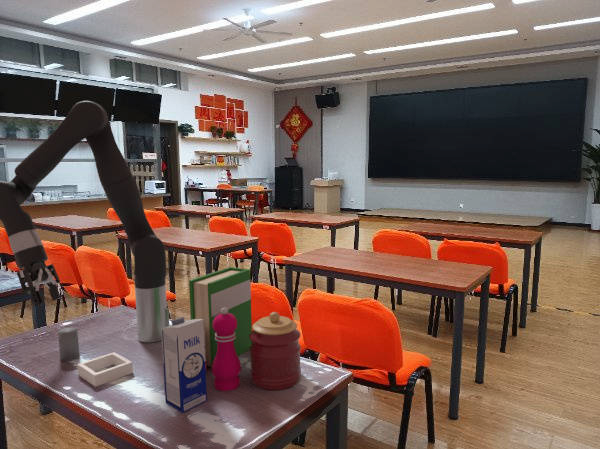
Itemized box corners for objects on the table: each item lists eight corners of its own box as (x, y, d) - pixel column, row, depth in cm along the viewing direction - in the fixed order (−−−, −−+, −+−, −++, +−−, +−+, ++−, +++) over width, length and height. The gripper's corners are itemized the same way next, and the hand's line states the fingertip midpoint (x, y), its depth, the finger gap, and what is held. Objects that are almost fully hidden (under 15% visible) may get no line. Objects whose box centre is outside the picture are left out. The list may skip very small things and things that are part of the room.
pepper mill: (236, 393, 109) (233, 313, 106) (207, 390, 110) (204, 311, 108) (245, 379, 116) (243, 303, 113) (218, 377, 117) (215, 302, 115)
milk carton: (181, 413, 100) (177, 326, 98) (164, 403, 105) (159, 320, 102) (207, 400, 106) (204, 318, 103) (190, 391, 110) (186, 312, 107)
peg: (79, 352, 134) (77, 326, 133) (80, 358, 130) (77, 331, 129) (60, 355, 132) (57, 329, 131) (60, 362, 128) (57, 334, 127)
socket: (114, 362, 127) (114, 352, 127) (132, 372, 120) (132, 362, 120) (78, 374, 120) (77, 364, 119) (95, 386, 113) (94, 375, 113)
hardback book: (214, 371, 121) (210, 283, 118) (193, 365, 124) (188, 280, 121) (252, 347, 136) (250, 269, 133) (232, 343, 140) (230, 266, 136)
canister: (311, 377, 117) (310, 311, 114) (276, 397, 107) (274, 325, 105) (275, 363, 125) (274, 301, 123) (239, 380, 115) (237, 313, 113)
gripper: (25, 245, 121) (47, 302, 121) (54, 242, 135) (73, 293, 135) (-2, 255, 121) (21, 312, 121) (30, 251, 135) (50, 302, 135)
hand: (48, 302), depth 128 cm, fingers open, 8 cm apart
